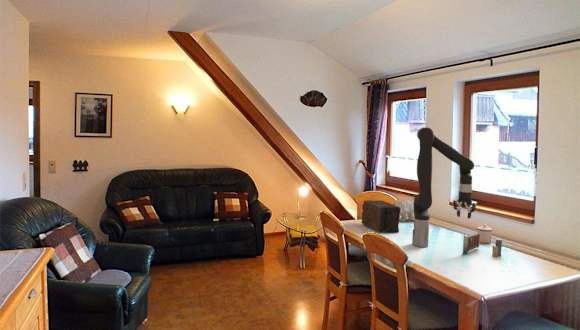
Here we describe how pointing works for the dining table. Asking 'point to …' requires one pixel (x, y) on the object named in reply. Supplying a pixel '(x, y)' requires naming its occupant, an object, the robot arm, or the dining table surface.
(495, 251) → the post
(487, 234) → the teacup with lid
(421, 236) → the robot arm
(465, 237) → the hinge post
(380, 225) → the decorative box
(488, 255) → the dining table surface
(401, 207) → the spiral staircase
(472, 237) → the walnut gate
